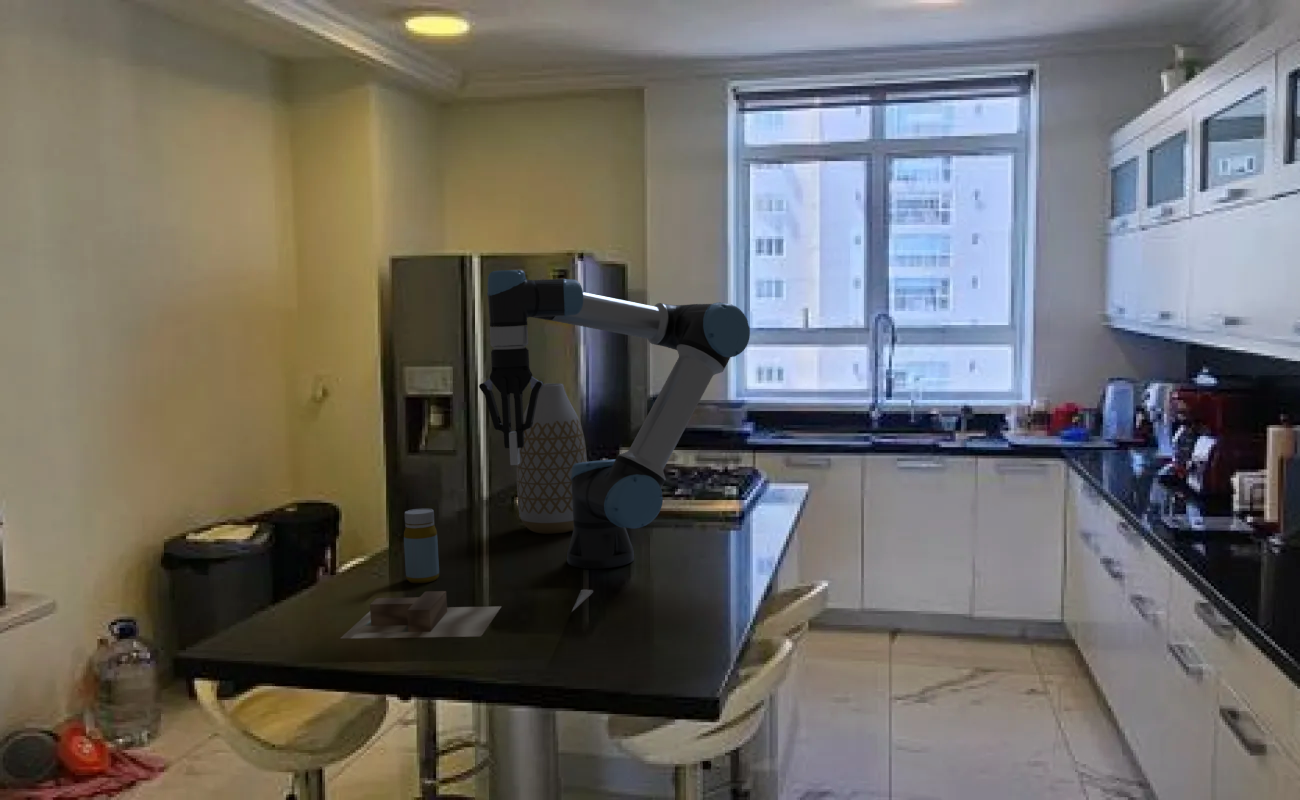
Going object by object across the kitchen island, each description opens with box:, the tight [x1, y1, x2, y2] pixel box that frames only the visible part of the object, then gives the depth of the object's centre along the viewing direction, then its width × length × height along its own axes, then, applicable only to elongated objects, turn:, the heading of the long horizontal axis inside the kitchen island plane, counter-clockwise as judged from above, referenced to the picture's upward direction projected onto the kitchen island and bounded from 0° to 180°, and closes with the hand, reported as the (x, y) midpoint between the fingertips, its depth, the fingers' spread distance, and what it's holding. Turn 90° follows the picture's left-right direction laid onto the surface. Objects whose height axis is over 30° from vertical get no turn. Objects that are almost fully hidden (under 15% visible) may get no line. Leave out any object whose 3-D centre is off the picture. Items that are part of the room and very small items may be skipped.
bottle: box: [403, 508, 440, 584], centre depth 225 cm, size 7×7×15 cm
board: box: [340, 605, 502, 640], centre depth 191 cm, size 25×18×1 cm
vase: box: [516, 383, 588, 535], centre depth 272 cm, size 19×18×38 cm
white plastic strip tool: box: [571, 589, 594, 612], centre depth 205 cm, size 5×15×1 cm, turn 165°
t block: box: [369, 590, 448, 632], centre depth 191 cm, size 12×12×4 cm
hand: (515, 463), depth 212 cm, fingers closed
